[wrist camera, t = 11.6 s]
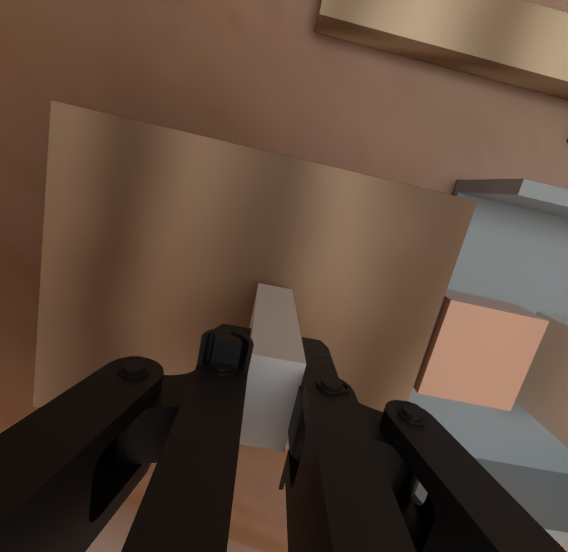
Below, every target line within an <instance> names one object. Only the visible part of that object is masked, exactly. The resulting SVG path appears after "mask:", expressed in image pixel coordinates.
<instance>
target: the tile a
mask: <svg viewBox="0 0 568 552" xmlns="http://www.w3.org/2000/svg"><path fill="white" fill-rule="evenodd" d="M548 323H549V321H548V320H546V319H544V318H542V317H540V316H538V315H536V314H534V313H532V312H530V311H528V310H526V309H524V308H522V307H520V306H518V305H516V304H512V303H508V302H503V301H498V300H494V299H489V298H485V297H480V296H476V295H471V294H466V293H462V292H457V291H453V290H448V289H447V291H446V294H445V297H444V299H443V302H442V305H441V308H440V311H439V314H438V317H437V320H436V323H435V325H434V328H433V331H432V334H431V337H430V340H429V343H428V346H427V348H426V351H425V354H424V357H423V360H422V363H421V366H420V369H419V372H418V374H417V377H416V380H415V383H414V386H413V387H414V389H415V390H416V392H417V393H418V394H424V395H429V396H434V397H439V398H444V399H450V400H455V401H460V402H465V403H470V404H476V405H481V406H486V407H491V408H497V409H502V410H507V411H511V409H512V406H513V404H514V402H515V399H516V397H517V395H518V393H519V390H520V388H521V386H522V383H523V381H524V379H525V376H526V374H527V372H528V370H529V367H530V365H531V363H532V360H533V358H534V356H535V353H536V351H537V349H538V346H539V344H540V342H541V340H542V337H543V335H544V333H545V330H546V328H547V326H548Z"/></svg>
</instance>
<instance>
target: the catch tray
mask: <svg viewBox="0 0 568 552" xmlns="http://www.w3.org/2000/svg"><path fill="white" fill-rule="evenodd" d="M453 196H458V197H462V198H466V199H470V200H474V201H477V204H476V207H475V210H474V213H473V216H472V219H471V222H470V225H469V227H468V230H467V233H466V236H465V239H464V242H463V245H462V248H461V250H460V253H459V256H458V259H457V262H456V265H455V268H454V271H453V274H452V276H451V279H450V282H449V285H448V288H447V289H448V290H453V291H457V292H462V293H466V294H471V295H476V296H480V297H485V298H489V299H494V300H498V301H503V302H508V303H512V304H516V305H518V306H520V307H522V308H524V309H526V310H528V311H530V312H532V313H534V314H537V312H542V313H547V314H551V315H556V316H560V317H565V318H568V190H567V189H563V188H559V187H555V186H551V185H547V184H543V183H539V182H535V181H531V180H527V179H493V180H457V183H456V186H455V189H454V192H453ZM408 401H409V402H411V403H415V404H417V405H418V406H419V407H421V408H423V409H425V410H426V411H427V412H429V413H430V414H431V415H432V416H433V417H434V418H435V419H436V420H437V421H438V422H439V423H440V424H441V425H442V426H443V427H444V428H445V429H446V430H447V431H448V432H449V433H450V434H451V435H452V436H453V437H454V438H455V439H456V440H457V441H458V442H459V443H460V444H461V445H462V446H463V447H464V448H465V449H466V450H467V451H468V452H469V453H470V454H471V455H472V456H473V457H474V458H475V459H476V460H477V461H478V462H479V463H480V464H481V465H482V466H483V467H484V468H485V469H486V470H487V471H488V472H489V473H490V474H491V475H492V476H493V477H494V478H495V480H496V481H497V482H498V483H499V484H500V485H501V486H502V487H503V488H504V489H505V490H506V491H507V492H508V493H509V494H510V495H511V496H512V497H513V498H514V499H515V500H516V501H517V502H518V503H519V504H520V505H521V506H522V507H523V508H524V509H525V510H526V511H527V512H528V513H529V514H530V515H531V516H532V517H533V518H534V519H535V520H536V521H537V522H538V523H539V524H540V525H541V526H542V527H543V528H544V529H545V530H546V531H547V532H548V533H549V534H550V535H551V536H552V537H553V538H554V539H555V540H556V541H561V542H566V543H568V448H567V447H566V446H565V445H564V444H562V443H561V442H560V441H559V440H558V439H557V438H556V437H555V436H554V435H552V434H551V433H550V432H549V431H548V430H547V429H546V428H545V427H544V426H542V425H541V424H540V423H539V422H538V421H537V420H536V419H535V418H534V417H532V416H531V415H530V414H529V413H528V412H527V411H526V410H525V409H523V408H522V407H521V406H520V405H519V404H518V403H517V402H516V401H515V402H514V404H513V406H512V409H511V411H507V410H502V409H497V408H491V407H486V406H481V405H476V404H470V403H465V402H460V401H455V400H450V399H444V398H439V397H434V396H429V395H424V394H418V393H417V392H416V390H415V389H414V387H413V389H412V392H411V395H410V397H409V400H408ZM415 494H416V496H417V497H418V499H419V500H420V501H421V502H422V503H424V502H425V499H426V497H427V494H428V493H427V491H426V490H425V489H424V487H423V486H422V485H421V483H420V482H419V484H418V486H417V489H416V492H415Z"/></svg>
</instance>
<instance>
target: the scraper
mask: <svg viewBox="0 0 568 552" xmlns="http://www.w3.org/2000/svg"><path fill="white" fill-rule="evenodd" d="M314 32H315V33H319V34H323V35H327V36H330V37H334V38H338V39H342V40H345V41H349V42H353V43H357V44H360V45H364V46H368V47H372V48H375V49H379V50H383V51H387V52H390V53H394V54H398V55H401V56H405V57H409V58H413V59H416V60H420V61H424V62H428V63H431V64H435V65H439V66H443V67H446V68H450V69H454V70H458V71H461V72H465V73H469V74H473V75H476V76H480V77H484V78H488V79H491V80H495V81H499V82H503V83H506V84H510V85H514V86H518V87H521V88H525V89H529V90H533V91H536V92H540V93H544V94H548V95H551V96H555V97H559V98H562V99H566V100H568V13H565V12H562V11H558V10H555V9H551V8H548V7H544V6H541V5H538V4H534V3H531V2H527V1H524V0H321V3H320V8H319V13H318V17H317V22H316V27H315V31H314ZM567 142H568V139H567Z"/></svg>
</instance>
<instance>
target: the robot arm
mask: <svg viewBox="0 0 568 552" xmlns="http://www.w3.org/2000/svg"><path fill="white" fill-rule="evenodd" d="M287 438H288V441H289V450H288V454H287V458H286V461H285V465H284V469H283V473H282V477H281V481H280V485H279V489H281V490H283V487H284V483H285V485H286V509H287V533H288V552H566V551H565V550H564V549H563V548H562V547H561V546H560V544H558V543H557V541H556V540H555V539H554V538H553V537H552V536H551V535H550V534H549V533H548V532H547V531H546V530H545V529H544V528H543V527H542V526H541V525H540V524H539V523H538V522H537V521H536V520H535V519H534V518H533V517H532V516H531V515H530V514H529V513H528V512H527V511H526V510H525V509H524V508H523V507H522V506H521V505H520V504H519V503H518V502H517V501H516V500H515V499H514V498H513V497H512V496H511V495H510V494H509V493H508V492H507V491H506V490H505V489H504V488H503V487H502V486H501V485H500V484H499V483H498V482H497V481H496V480H495V478H494V477H493V476H492V475H491V474H490V473H489V472H488V471H487V470H486V469H485V468H484V467H483V466H482V465H481V464H480V463H479V462H478V461H477V460H476V459H475V458H474V457H473V456H472V455H471V454H470V453H469V452H468V451H467V450H466V449H465V448H464V447H463V446H462V445H461V444H460V443H459V442H458V441H457V440H456V439H455V438H454V437H453V436H452V435H451V434H450V433H449V432H448V431H447V430H446V429H445V428H444V427H443V426H442V425H441V424H440V423H439V422H438V421H437V420H436V419H435V418H434V417H433V416H432V415H431V414H430V413H429V412H427V411H426V410H425V409H423V408H421V407H419V406H418V405H417V404H415V403H411V402H409V401H402V400H391V401H389V402H388V403H386V404H385V408H384V411H383V412H381V411H378V410H376V409H373V408H370V407H367V406H365V405H363V404H360V403H359V402H358V400H357V397H356V395H355V392H354V390H353V389H352V387H351V386H350V385H349V384H347V383H346V382H345V381H343V380H341V379H339V377H338V374H337V371H336V368H335V365H334V363H333V360H332V357H331V354H330V351H329V348H328V347H327V346H326V345H325V344H324V343H323V342H322V341H321V340H316V339H311V338H305V337H301V333H300V328H299V322H298V317H297V312H296V306H295V301H294V296H293V291H292V289H287V288H282V287H277V286H272V285H267V284H262V283H258V288H257V293H256V298H255V302H254V307H253V312H252V317H251V322H250V327H249V328H245V327H240V326H234V325H229V324H221V325H220V326H218V327H216V328H215V329H211V330H208V331H206V332H205V333H203V334H202V337H201V343H200V349H199V355H198V361H197V365H196V368H195V370H194V371H192V372H189V373H185V374H180V375H164V371H163V367H162V366H161V365H160V364H159V363H158V362H156V361H154V360H152V359H150V358H145V357H141V356H136V357H135V356H128V357H124V358H119V359H116V360H114V361H112V362H109V363H108V364H106V365H105V366H103V367H102V368H100V369H99V370H97V371H96V372H94V373H92V374H91V375H89V376H88V377H86V378H85V379H83V380H82V381H80V382H79V383H77V384H76V385H74V386H73V387H71V388H69V389H68V390H66V391H65V392H63V393H62V394H60V395H59V396H57V397H56V398H54V399H53V400H51V401H50V402H48V403H46V404H45V405H43V406H42V407H40V408H39V409H37V410H36V411H34V412H33V413H31V414H30V415H28V416H27V417H25V418H24V419H22V420H20V421H19V422H17V423H16V424H14V425H13V426H11V427H10V428H8V429H7V430H5V431H4V432H2V433H1V434H0V552H85V551H86V550H87V549H88V547H89V546H90V544H91V543H92V542H93V541H94V540H95V538H96V537H97V536H98V535H99V533H100V532H101V531H102V529H103V528H104V526H105V525H106V524H107V523H108V522H109V520H110V519H111V518H112V516H113V515H114V514H115V513H116V511H117V510H118V509H119V507H120V506H121V505H122V504H123V502H124V501H125V500H126V498H127V497H128V496H129V495H130V493H131V492H132V491H133V489H134V488H135V487H136V486H137V484H138V483H139V482H140V480H141V479H142V478H143V477H144V475H145V474H146V473H147V471H148V469H149V467H150V465H151V463H156V462H157V464H156V467H155V469H154V472H153V474H152V477H151V479H150V482H149V484H148V487H147V489H146V492H145V494H144V497H143V499H142V502H141V504H140V506H139V509H138V511H137V514H136V516H135V519H134V522H133V524H132V526H131V529H130V531H129V534H128V536H127V539H126V541H125V544H124V546H123V549H122V551H121V552H226V551H227V543H228V535H229V527H230V518H231V510H232V502H233V493H234V485H235V477H236V468H237V460H238V452H239V445H246V446H252V447H258V448H265V449H271V450H278V451H284V450H285V446H286V442H287ZM419 482H420V483H421V485H422V486H423V487H424V489H425V490H426V491H427V493H428V494H427V497H426V499H425V502H424V503H422V502H421V501H420V500H419V499H418V497H417V496H416V494H415V492H416V489H417V486H418V484H419Z"/></svg>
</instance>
